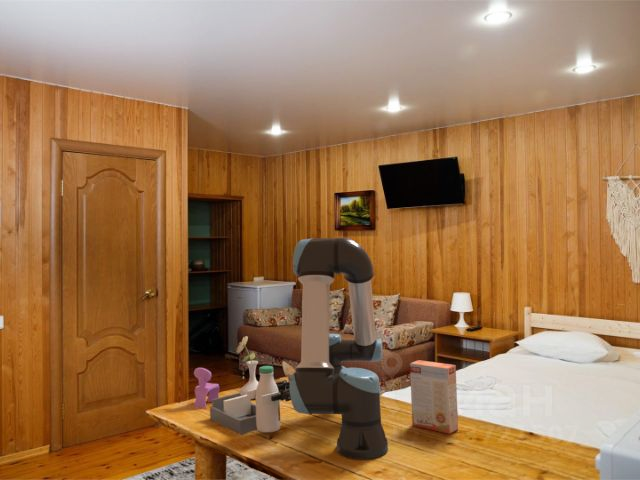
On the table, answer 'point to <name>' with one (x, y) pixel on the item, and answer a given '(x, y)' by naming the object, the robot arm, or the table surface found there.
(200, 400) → the toy chair
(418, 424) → the cracker box
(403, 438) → the table surface
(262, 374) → the milk bottle
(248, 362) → the flower in vase
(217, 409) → the grey tray
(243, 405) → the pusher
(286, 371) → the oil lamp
